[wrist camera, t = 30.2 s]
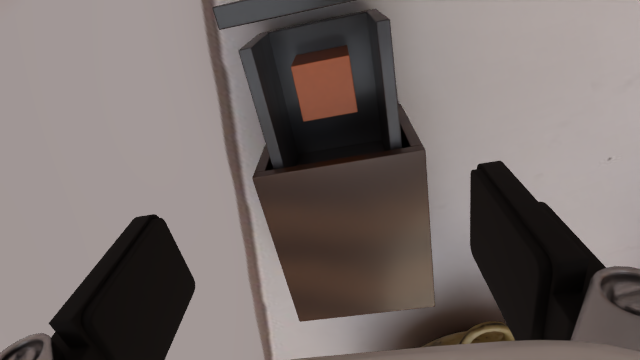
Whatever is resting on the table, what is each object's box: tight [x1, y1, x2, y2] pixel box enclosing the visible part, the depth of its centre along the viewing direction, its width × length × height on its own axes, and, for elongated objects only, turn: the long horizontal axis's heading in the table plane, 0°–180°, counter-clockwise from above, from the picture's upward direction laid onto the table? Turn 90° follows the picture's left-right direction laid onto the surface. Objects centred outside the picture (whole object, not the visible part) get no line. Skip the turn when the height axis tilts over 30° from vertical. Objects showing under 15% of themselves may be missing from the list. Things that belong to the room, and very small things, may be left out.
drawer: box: [213, 0, 402, 170], centre depth 25 cm, size 18×10×8 cm, turn 11°
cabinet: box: [252, 104, 435, 322], centre depth 31 cm, size 15×12×10 cm
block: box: [291, 45, 358, 122], centre depth 27 cm, size 4×4×4 cm
